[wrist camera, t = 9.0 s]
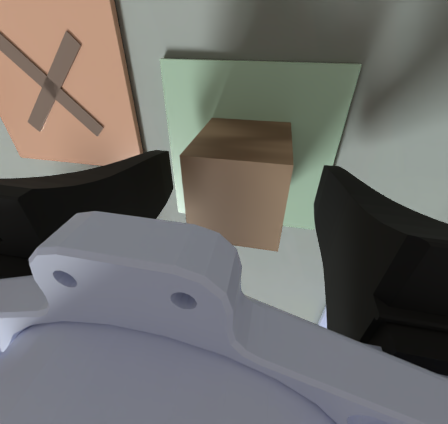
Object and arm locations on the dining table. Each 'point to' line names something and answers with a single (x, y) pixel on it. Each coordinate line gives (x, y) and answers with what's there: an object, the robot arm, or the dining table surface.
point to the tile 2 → (263, 113)
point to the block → (239, 180)
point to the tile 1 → (66, 82)
